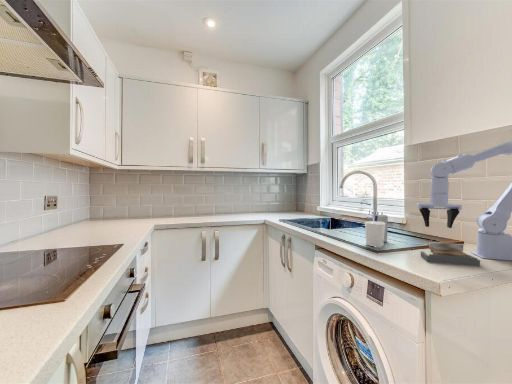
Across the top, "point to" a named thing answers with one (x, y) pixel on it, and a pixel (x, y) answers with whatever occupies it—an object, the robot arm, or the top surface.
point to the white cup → (375, 233)
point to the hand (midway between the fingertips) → (438, 227)
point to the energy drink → (384, 219)
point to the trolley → (447, 249)
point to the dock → (450, 259)
